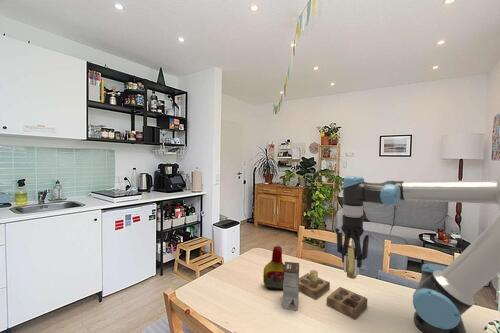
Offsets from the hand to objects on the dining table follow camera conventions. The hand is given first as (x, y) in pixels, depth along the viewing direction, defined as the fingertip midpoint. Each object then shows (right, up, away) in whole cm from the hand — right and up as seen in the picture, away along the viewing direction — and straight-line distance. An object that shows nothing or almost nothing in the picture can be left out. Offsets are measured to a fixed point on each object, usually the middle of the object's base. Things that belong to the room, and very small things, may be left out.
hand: (351, 272), depth 96 cm
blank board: (0, -16, +5) cm, 17 cm away
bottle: (-29, -15, +18) cm, 37 cm away
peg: (0, -2, 0) cm, 2 cm away
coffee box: (-23, -16, +6) cm, 29 cm away
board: (-12, -15, +17) cm, 26 cm away
